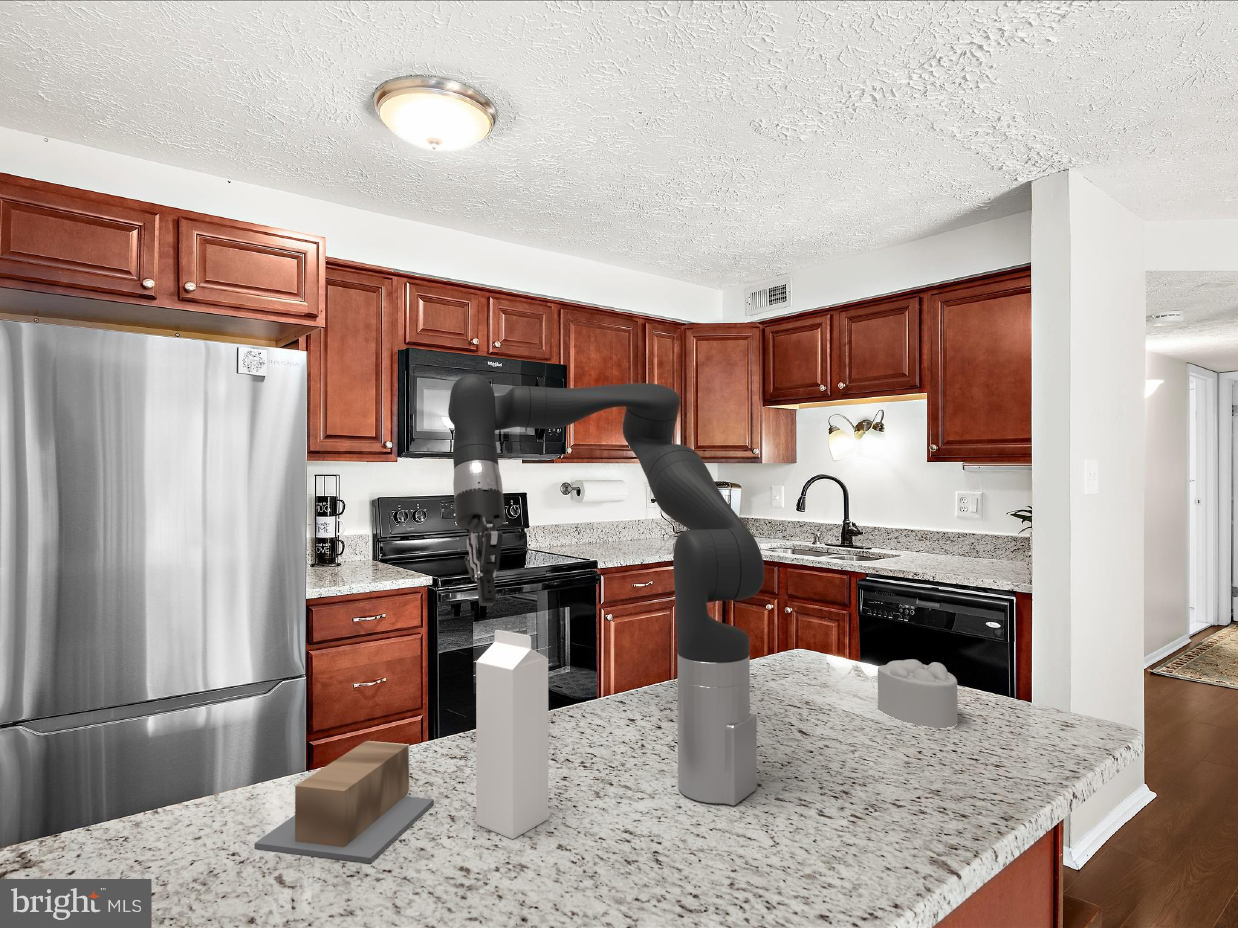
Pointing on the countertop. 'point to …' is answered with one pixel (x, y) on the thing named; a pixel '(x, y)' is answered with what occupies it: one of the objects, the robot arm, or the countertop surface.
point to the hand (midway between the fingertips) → (487, 604)
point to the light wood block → (351, 793)
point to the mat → (363, 845)
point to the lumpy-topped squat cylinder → (918, 693)
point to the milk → (511, 736)
